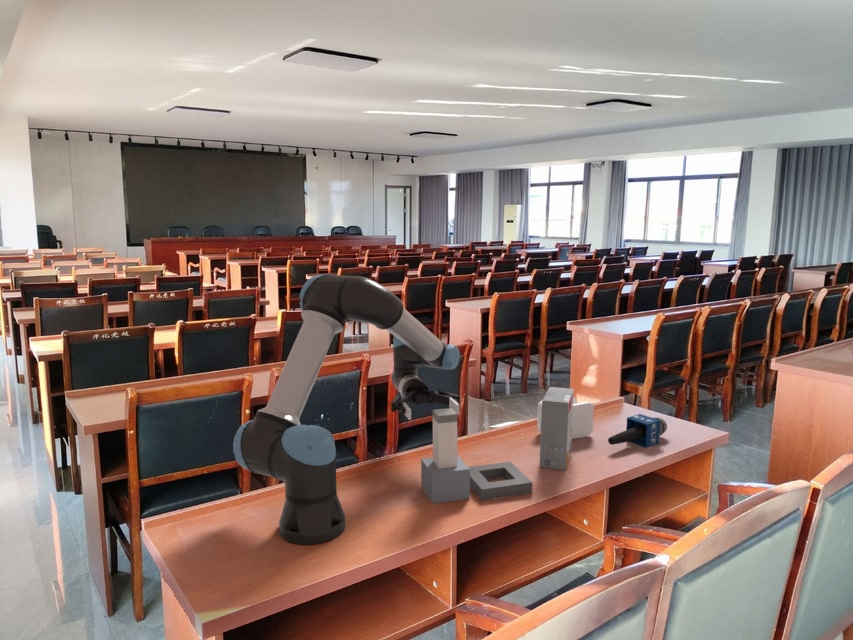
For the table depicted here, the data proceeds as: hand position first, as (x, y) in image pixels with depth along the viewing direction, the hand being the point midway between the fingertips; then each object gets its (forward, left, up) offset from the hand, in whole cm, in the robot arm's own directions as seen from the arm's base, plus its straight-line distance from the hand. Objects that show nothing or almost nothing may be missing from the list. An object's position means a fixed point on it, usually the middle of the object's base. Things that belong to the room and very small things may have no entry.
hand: (434, 412), depth 166 cm
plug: (0, -10, -11) cm, 15 cm away
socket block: (+14, -10, -19) cm, 26 cm away
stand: (0, -10, -19) cm, 21 cm away
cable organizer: (+50, +18, -19) cm, 56 cm away
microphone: (+68, +4, -19) cm, 70 cm away
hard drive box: (+38, +1, -19) cm, 42 cm away
